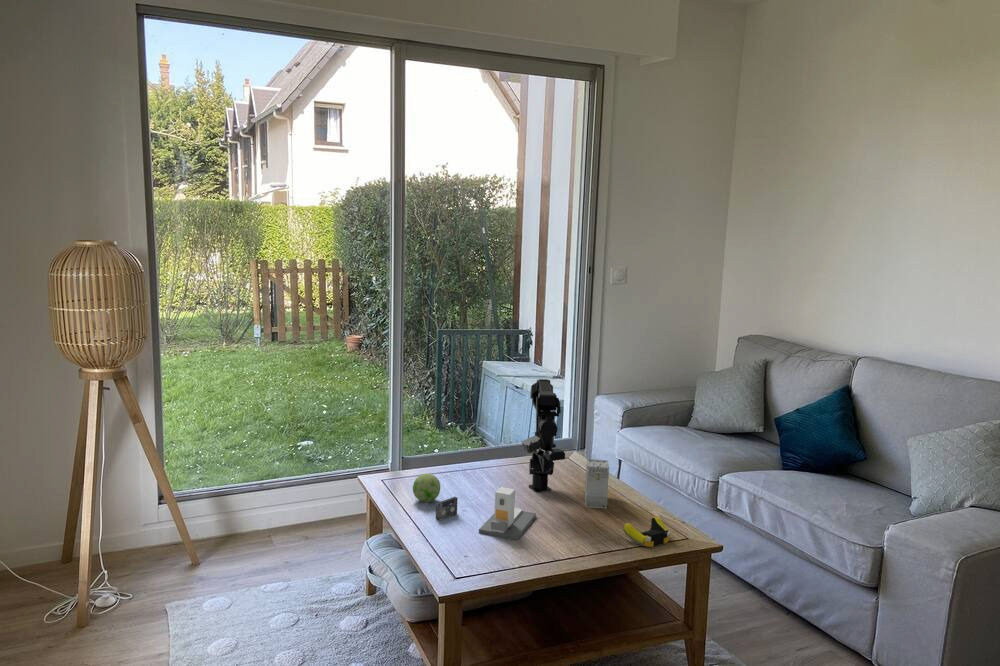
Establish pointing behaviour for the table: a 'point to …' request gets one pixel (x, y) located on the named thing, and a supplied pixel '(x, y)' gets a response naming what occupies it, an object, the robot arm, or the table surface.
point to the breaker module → (505, 505)
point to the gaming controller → (649, 533)
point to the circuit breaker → (596, 483)
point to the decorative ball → (426, 487)
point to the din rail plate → (501, 529)
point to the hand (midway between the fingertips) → (544, 472)
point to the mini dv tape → (446, 508)
